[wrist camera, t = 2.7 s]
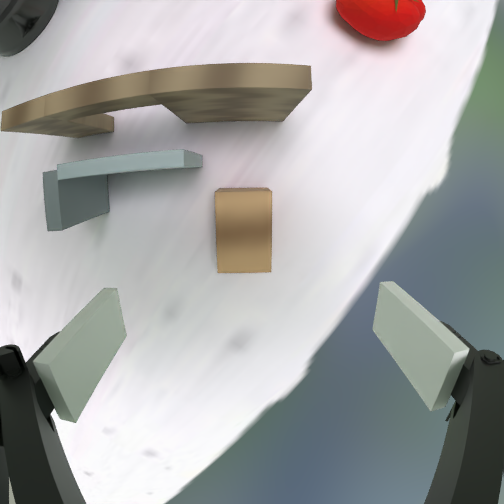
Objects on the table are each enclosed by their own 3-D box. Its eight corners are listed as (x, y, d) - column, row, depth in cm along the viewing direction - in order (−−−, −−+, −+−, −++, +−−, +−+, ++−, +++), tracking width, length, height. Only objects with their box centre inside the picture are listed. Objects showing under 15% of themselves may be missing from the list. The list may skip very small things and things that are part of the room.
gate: (96, 212, 37) (47, 231, 25) (94, 165, 35) (42, 167, 23) (203, 206, 37) (186, 224, 25) (202, 155, 35) (183, 149, 24)
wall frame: (77, 137, 34) (0, 131, 18) (77, 124, 33) (2, 111, 18) (282, 121, 35) (311, 89, 19) (282, 106, 34) (310, 65, 19)
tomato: (412, 53, 32) (451, 33, 22) (334, 45, 32) (361, 14, 22) (394, -4, 29) (424, -32, 19) (319, -15, 29) (337, -53, 19)
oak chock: (266, 256, 39) (271, 272, 34) (221, 257, 39) (217, 273, 34) (267, 187, 37) (272, 191, 31) (219, 188, 37) (214, 192, 31)
